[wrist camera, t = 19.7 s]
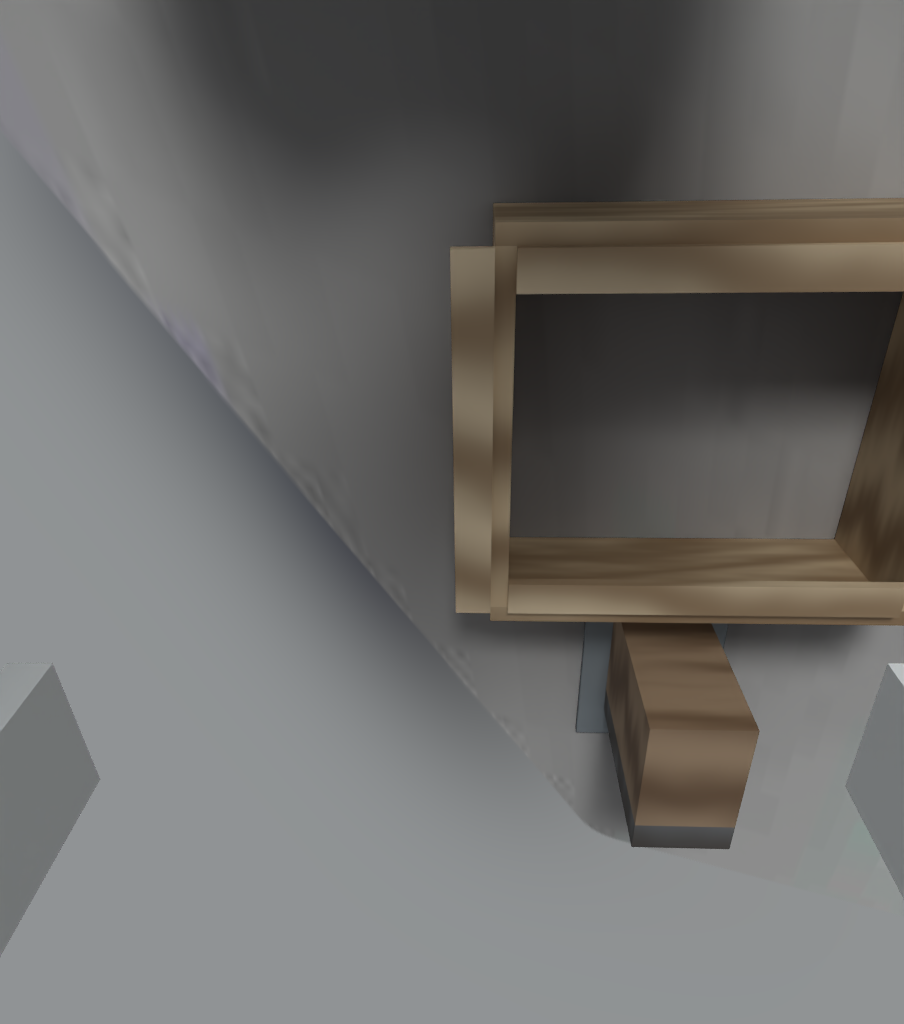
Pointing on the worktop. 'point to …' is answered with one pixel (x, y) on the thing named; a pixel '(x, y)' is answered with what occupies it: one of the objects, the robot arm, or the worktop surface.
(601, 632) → the mat
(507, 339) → the wooden crate
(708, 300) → the worktop surface
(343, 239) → the worktop surface
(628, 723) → the block
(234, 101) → the worktop surface
